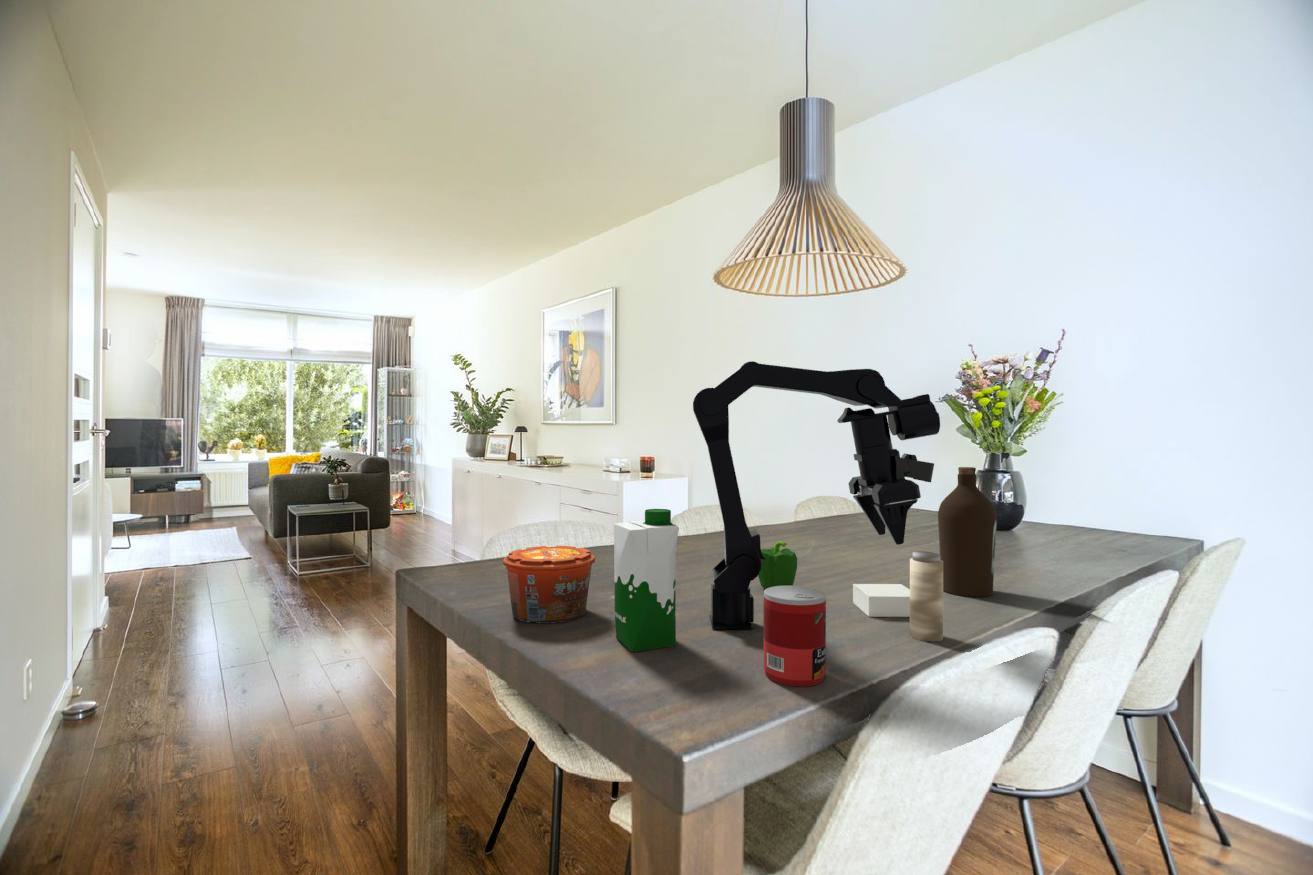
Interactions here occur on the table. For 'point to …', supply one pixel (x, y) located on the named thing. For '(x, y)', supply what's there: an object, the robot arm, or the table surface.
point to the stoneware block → (882, 599)
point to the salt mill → (926, 596)
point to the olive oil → (967, 538)
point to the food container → (549, 582)
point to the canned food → (794, 635)
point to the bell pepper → (778, 566)
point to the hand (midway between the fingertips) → (890, 539)
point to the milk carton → (646, 581)
